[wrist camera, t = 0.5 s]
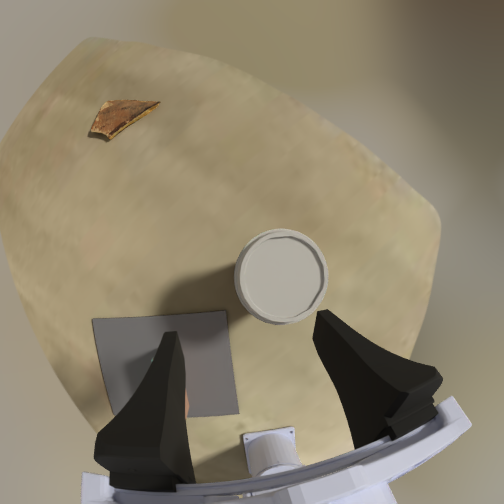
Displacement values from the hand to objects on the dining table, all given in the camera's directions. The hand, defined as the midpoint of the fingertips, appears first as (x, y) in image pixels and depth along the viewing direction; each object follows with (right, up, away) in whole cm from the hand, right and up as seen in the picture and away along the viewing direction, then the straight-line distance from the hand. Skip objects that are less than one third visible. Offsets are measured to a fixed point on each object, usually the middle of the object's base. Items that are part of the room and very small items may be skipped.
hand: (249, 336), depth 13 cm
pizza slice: (-22, +28, +25) cm, 43 cm away
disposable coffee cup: (+2, +1, +24) cm, 24 cm away
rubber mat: (-12, -13, +21) cm, 28 cm away
